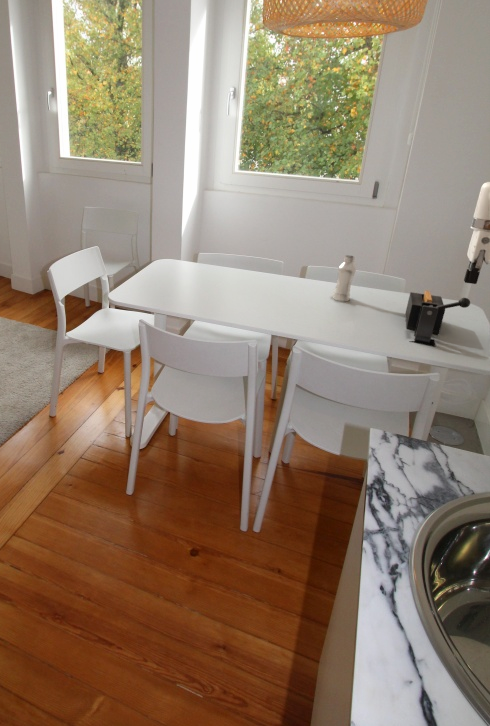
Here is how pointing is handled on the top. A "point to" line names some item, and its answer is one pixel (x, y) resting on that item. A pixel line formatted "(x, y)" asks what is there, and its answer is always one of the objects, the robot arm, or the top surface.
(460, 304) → the toaster lever
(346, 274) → the plastic bottle
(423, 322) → the lever bracket
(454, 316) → the top surface
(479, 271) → the robot arm
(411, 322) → the toaster
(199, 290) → the top surface
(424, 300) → the toast
